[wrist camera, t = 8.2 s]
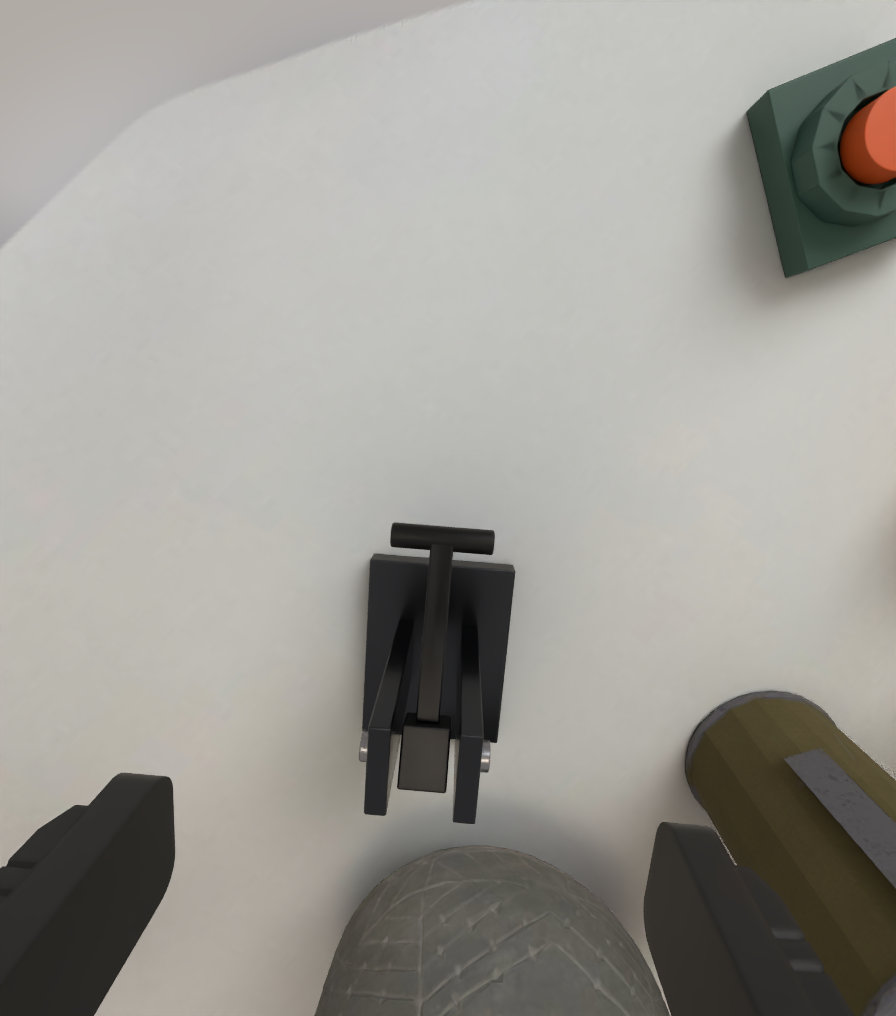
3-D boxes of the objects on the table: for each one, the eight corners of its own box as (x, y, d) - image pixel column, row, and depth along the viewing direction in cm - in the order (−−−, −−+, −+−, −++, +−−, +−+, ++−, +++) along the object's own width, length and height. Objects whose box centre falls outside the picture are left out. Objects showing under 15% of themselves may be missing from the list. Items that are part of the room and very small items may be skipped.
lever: (395, 524, 29) (390, 520, 26) (492, 532, 29) (496, 528, 26) (372, 768, 27) (365, 787, 25) (475, 777, 27) (477, 796, 25)
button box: (746, 111, 30) (788, 69, 26) (878, 57, 29) (942, 6, 25) (785, 278, 32) (830, 262, 28) (910, 231, 31) (975, 208, 27)
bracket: (373, 553, 36) (324, 641, 23) (513, 564, 36) (539, 659, 23) (365, 720, 38) (316, 881, 26) (496, 731, 38) (511, 899, 26)
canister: (854, 801, 38) (1258, 1228, 19) (706, 841, 39) (942, 1287, 20) (820, 664, 36) (1234, 983, 17) (664, 710, 37) (883, 1062, 18)
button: (832, 119, 27) (857, 101, 25) (908, 89, 26) (939, 68, 25) (847, 196, 27) (873, 183, 26) (922, 167, 27) (953, 153, 25)
